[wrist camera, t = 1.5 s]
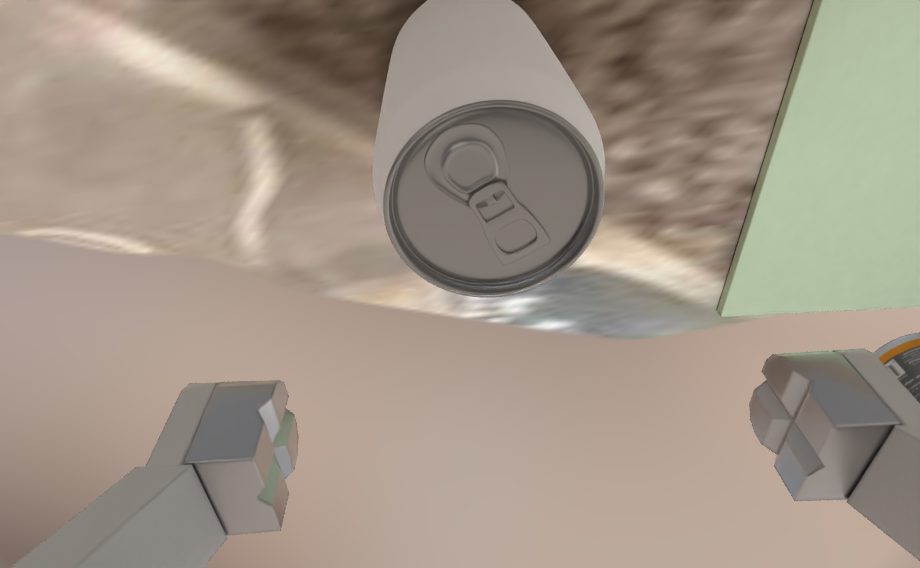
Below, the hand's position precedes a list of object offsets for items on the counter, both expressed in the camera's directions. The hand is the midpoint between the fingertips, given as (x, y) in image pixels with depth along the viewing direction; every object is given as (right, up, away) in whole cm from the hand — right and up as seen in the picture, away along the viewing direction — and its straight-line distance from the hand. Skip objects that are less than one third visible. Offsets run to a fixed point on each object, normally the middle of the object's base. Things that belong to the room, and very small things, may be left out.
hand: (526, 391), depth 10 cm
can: (-1, +11, +14) cm, 18 cm away
